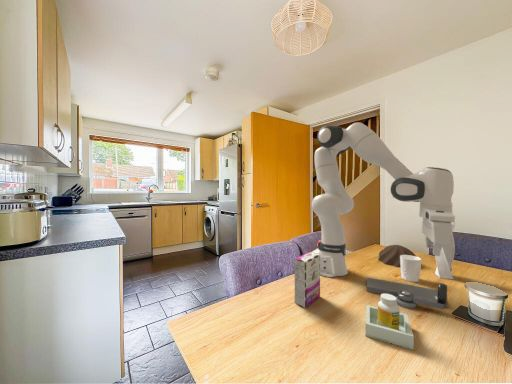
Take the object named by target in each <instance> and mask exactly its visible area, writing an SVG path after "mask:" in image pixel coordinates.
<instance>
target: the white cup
mask: <svg viewBox="0 0 512 384" xmlns="http://www.w3.org/2000/svg"><path fill="white" fill-rule="evenodd" d="M421 265H422V258H421V257H419V256H417V255H416V256H411V255H400V266H401V267H400V277H401V279H402V280H405V281H407V282H413V283H418V282H420V275H421Z"/></svg>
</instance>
